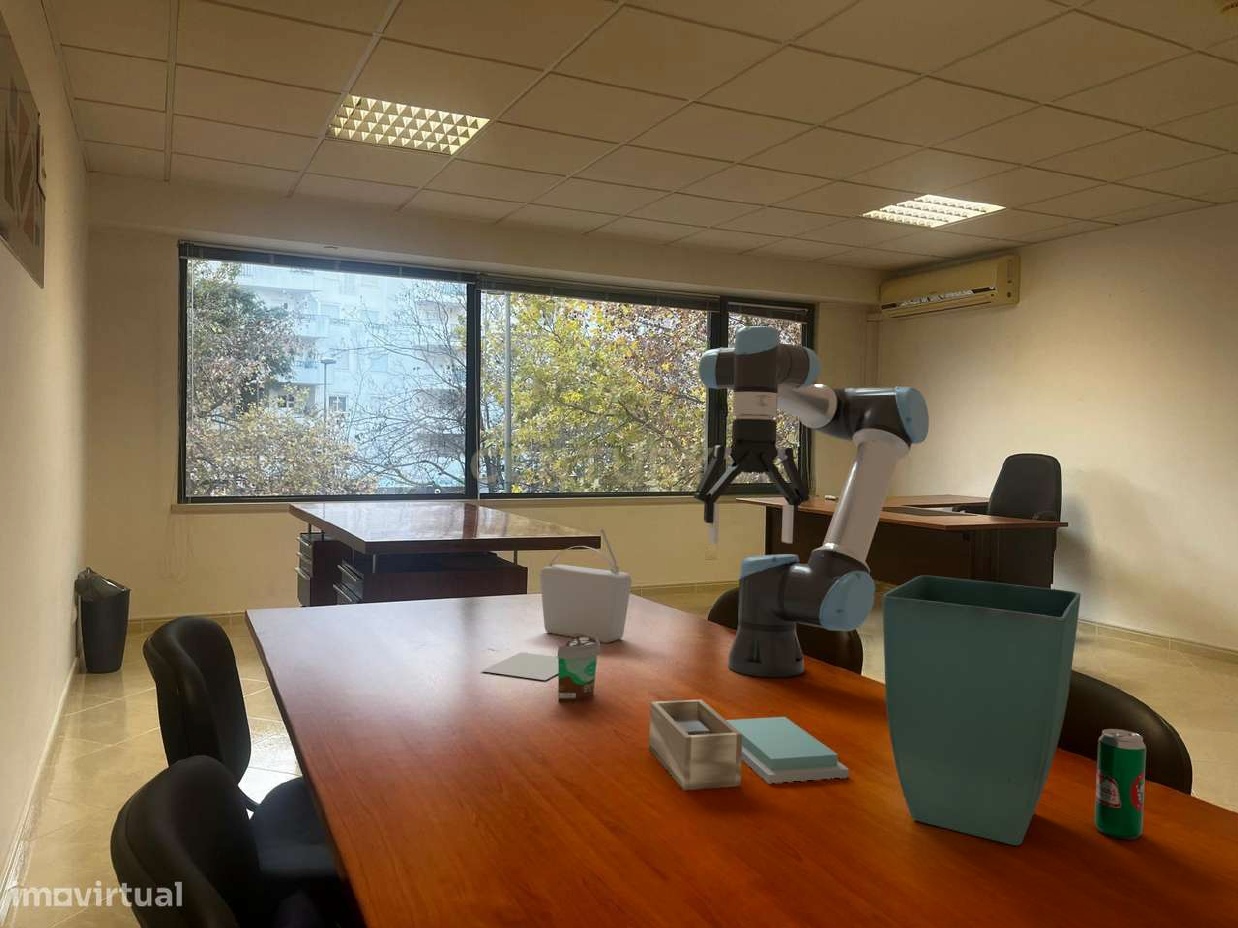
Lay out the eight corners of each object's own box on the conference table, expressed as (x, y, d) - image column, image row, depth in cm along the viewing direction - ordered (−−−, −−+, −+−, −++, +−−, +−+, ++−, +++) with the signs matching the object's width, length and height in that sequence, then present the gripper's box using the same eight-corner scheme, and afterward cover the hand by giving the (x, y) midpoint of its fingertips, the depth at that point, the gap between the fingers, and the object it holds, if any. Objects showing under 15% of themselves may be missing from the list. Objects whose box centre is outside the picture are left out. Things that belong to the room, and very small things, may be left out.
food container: (591, 707, 153) (592, 649, 153) (556, 704, 154) (557, 646, 154) (606, 688, 165) (608, 634, 165) (574, 685, 166) (575, 631, 166)
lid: (784, 726, 142) (784, 716, 142) (837, 765, 125) (837, 754, 125) (725, 730, 139) (725, 720, 139) (770, 770, 123) (771, 758, 123)
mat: (785, 730, 143) (786, 723, 143) (848, 777, 124) (848, 769, 124) (715, 735, 140) (715, 727, 140) (768, 783, 121) (768, 774, 121)
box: (699, 745, 135) (701, 699, 135) (740, 785, 120) (742, 734, 120) (648, 748, 133) (650, 701, 133) (683, 790, 118) (685, 737, 118)
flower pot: (1052, 872, 98) (1064, 615, 97) (870, 825, 109) (879, 593, 108) (1071, 810, 115) (1081, 591, 114) (912, 775, 126) (920, 574, 125)
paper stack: (438, 668, 176) (438, 664, 176) (500, 642, 200) (500, 639, 200) (545, 683, 168) (545, 679, 168) (597, 654, 191) (597, 651, 191)
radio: (634, 639, 205) (637, 530, 205) (615, 645, 198) (618, 533, 198) (557, 626, 217) (560, 523, 216) (536, 631, 210) (539, 525, 209)
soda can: (1085, 823, 111) (1089, 727, 111) (1124, 822, 112) (1128, 727, 111) (1111, 841, 106) (1115, 741, 106) (1151, 841, 107) (1156, 741, 106)
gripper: (692, 415, 146) (688, 545, 147) (831, 420, 153) (827, 544, 153) (678, 416, 153) (674, 539, 154) (811, 420, 160) (807, 539, 160)
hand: (750, 542), depth 154 cm, fingers open, 13 cm apart
